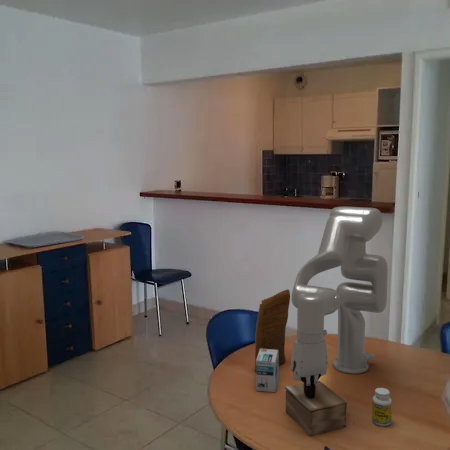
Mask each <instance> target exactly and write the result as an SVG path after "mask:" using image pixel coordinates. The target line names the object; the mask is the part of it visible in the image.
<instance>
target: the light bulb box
mask: <svg viewBox="0 0 450 450" xmlns="http://www.w3.org/2000/svg"><path fill="white" fill-rule="evenodd" d="M279 368H280V365H279V350H272V349H260V350H259V353H258V356H257V359H256V372H255V375H256V376H255V377H256V378H255V379H256V381H255V382H256V384H255V387H256V388H255V389H256V392H257V391H258V392H269V393H276V392H277V389H278V388H277V387H278V384H279V379H280V378H279V377H280V376H279V373H280V372H279Z"/></svg>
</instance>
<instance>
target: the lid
mask: <svg viewBox="0 0 450 450" xmlns="http://www.w3.org/2000/svg"><path fill="white" fill-rule="evenodd" d="M284 389H285V391H286V390H287V391H288V392H289V393H291V394H292V395H293V396H294V397H295V398H296V399H297V400H298V401H299V402H300V403H302V404H303V405H304V406H305V407H306V408H307V409H308V410H309V411H314V410H318V409H323V408H328V407H333V406H338V405H343V404H348V402H347V401H346V400H345V399H344V398H342V396H340V395H339V394H337V393H336V392H334V390H332V388H329V387H328V386H327V385H326V384H325V383H323V382H322V381H320V380H318V383H317V384H316V390H315V398H311V399H309V398H308V397H307V396H306V395H305V394H304V383H301V384H295V385H287V386H285V387H284Z"/></svg>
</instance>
